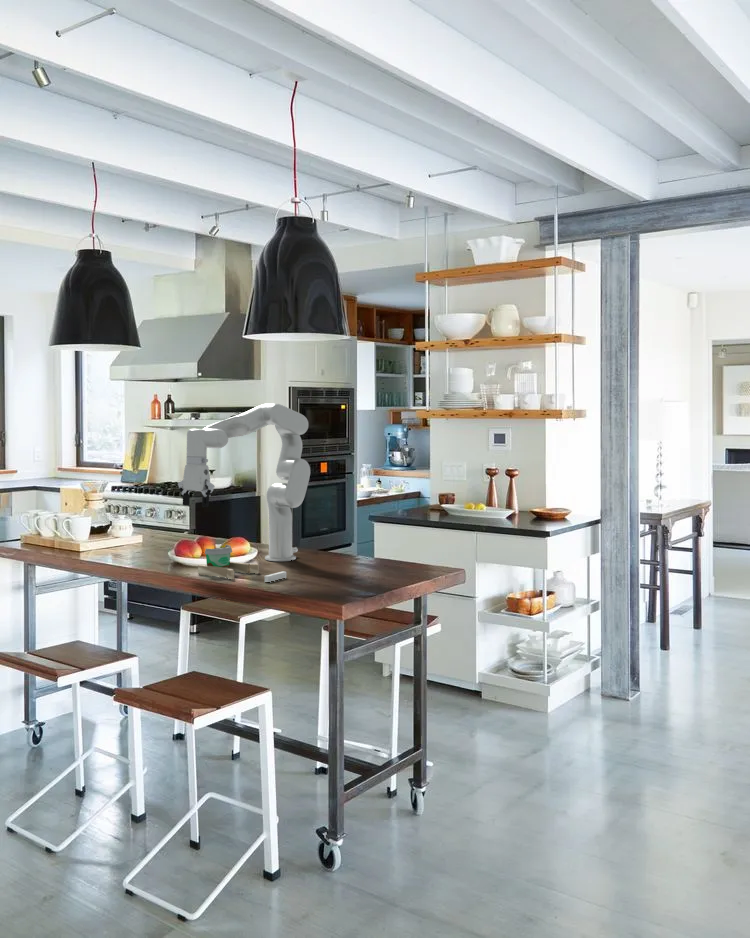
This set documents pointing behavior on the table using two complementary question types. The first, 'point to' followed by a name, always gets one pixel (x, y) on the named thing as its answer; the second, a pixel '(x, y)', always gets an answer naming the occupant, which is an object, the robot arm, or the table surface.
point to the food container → (218, 556)
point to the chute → (228, 569)
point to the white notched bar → (275, 576)
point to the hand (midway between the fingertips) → (195, 506)
